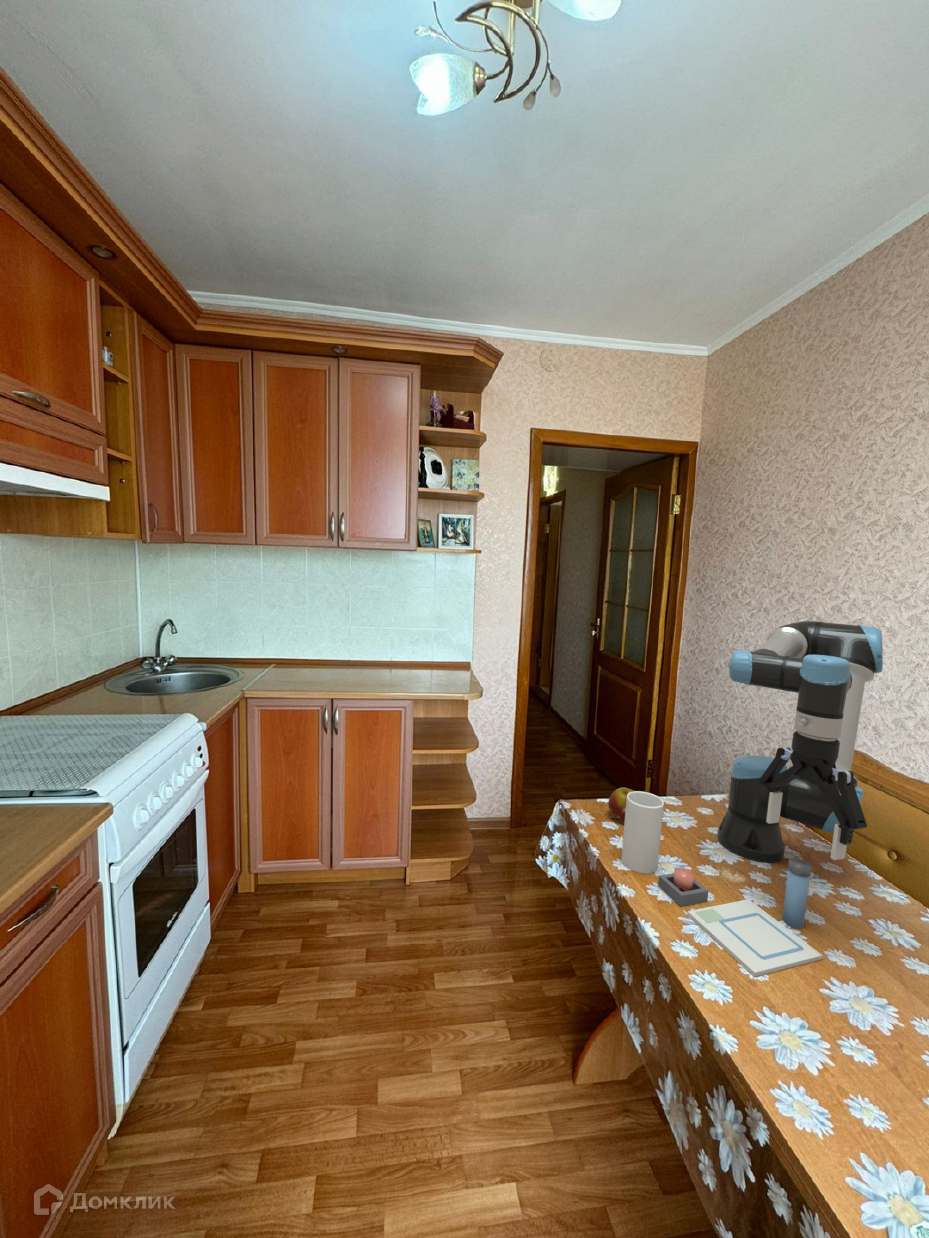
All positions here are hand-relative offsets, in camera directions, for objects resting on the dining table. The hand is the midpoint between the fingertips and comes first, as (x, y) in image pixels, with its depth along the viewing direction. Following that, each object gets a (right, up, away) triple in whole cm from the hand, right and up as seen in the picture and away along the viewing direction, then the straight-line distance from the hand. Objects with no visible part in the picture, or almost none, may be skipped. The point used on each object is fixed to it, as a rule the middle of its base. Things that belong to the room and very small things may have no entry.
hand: (803, 839), depth 99 cm
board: (-12, -18, -3) cm, 21 cm away
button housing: (-20, -16, +9) cm, 27 cm away
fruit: (-22, -13, +42) cm, 49 cm away
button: (-20, -14, +9) cm, 26 cm away
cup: (-26, -15, +20) cm, 36 cm away
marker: (-1, -18, +2) cm, 18 cm away
